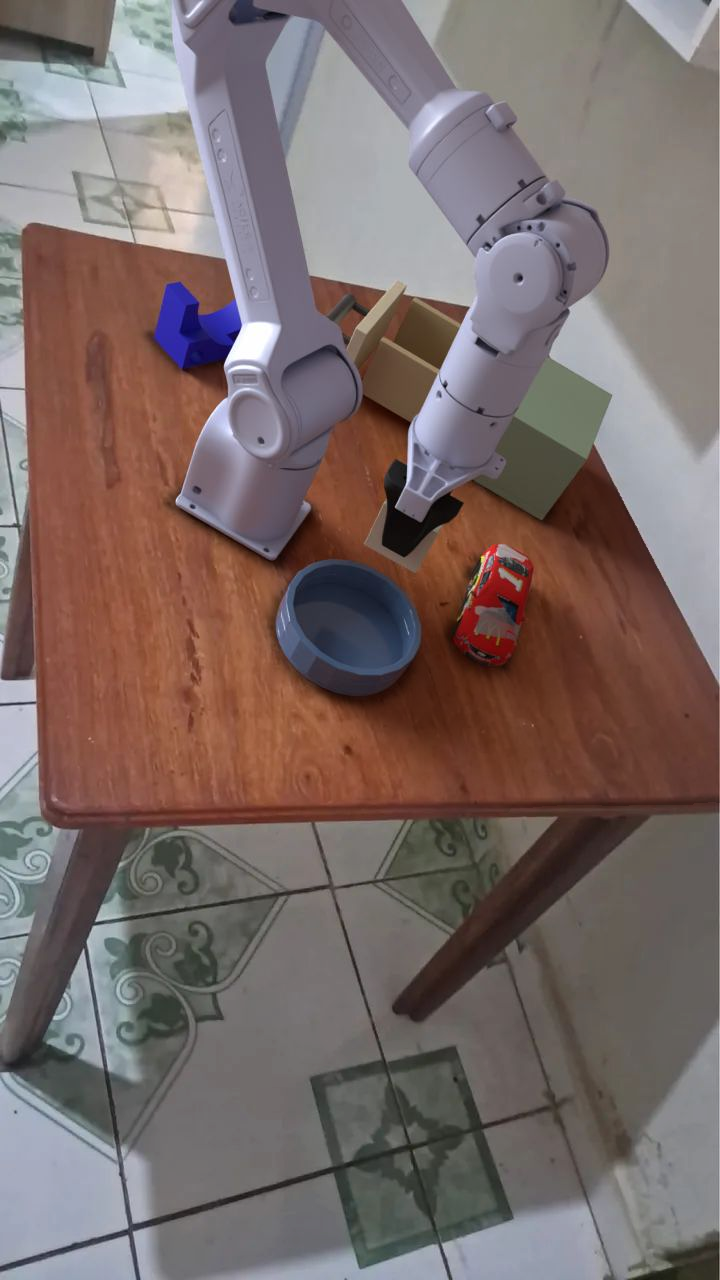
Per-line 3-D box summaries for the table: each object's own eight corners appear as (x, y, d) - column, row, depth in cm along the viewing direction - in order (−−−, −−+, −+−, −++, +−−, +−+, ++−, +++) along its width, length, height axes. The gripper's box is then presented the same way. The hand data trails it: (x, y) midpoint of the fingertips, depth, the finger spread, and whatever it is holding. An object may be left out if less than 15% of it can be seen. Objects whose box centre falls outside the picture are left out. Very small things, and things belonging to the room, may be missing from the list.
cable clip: (181, 369, 89) (196, 316, 84) (153, 338, 90) (166, 284, 85) (277, 344, 96) (295, 294, 92) (250, 316, 97) (267, 265, 93)
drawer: (297, 363, 94) (319, 306, 89) (341, 315, 101) (363, 259, 96) (449, 453, 94) (480, 401, 89) (481, 398, 102) (511, 347, 97)
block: (363, 544, 72) (383, 503, 68) (384, 512, 75) (405, 470, 72) (415, 574, 72) (438, 533, 68) (434, 540, 75) (457, 499, 71)
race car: (498, 681, 80) (521, 655, 77) (441, 651, 80) (462, 624, 77) (529, 581, 89) (550, 554, 86) (478, 553, 88) (498, 525, 85)
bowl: (251, 647, 73) (262, 624, 71) (310, 560, 80) (321, 537, 78) (377, 720, 73) (392, 700, 71) (424, 627, 80) (439, 606, 78)
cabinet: (415, 446, 94) (451, 379, 88) (453, 386, 103) (489, 321, 96) (541, 520, 95) (587, 459, 88) (569, 455, 103) (612, 394, 97)
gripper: (503, 475, 57) (420, 614, 67) (558, 368, 67) (479, 504, 77) (400, 418, 57) (333, 566, 67) (471, 320, 67) (403, 461, 77)
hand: (405, 530), depth 72 cm, fingers closed on block, 4 cm apart
